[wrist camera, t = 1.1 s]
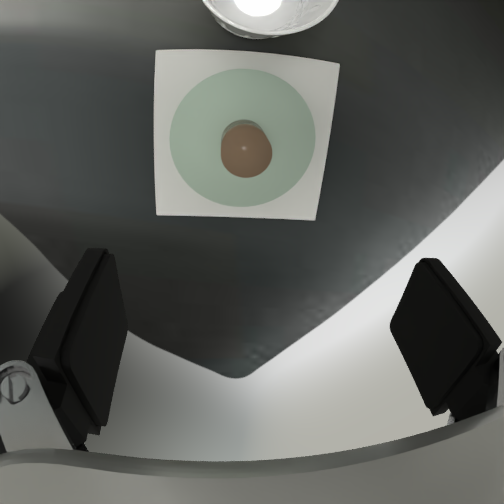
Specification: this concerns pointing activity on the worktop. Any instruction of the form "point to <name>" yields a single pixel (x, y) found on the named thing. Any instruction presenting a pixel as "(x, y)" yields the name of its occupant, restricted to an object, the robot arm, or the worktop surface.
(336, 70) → the mat
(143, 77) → the worktop surface
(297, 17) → the white cup
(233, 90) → the lid
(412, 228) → the worktop surface
